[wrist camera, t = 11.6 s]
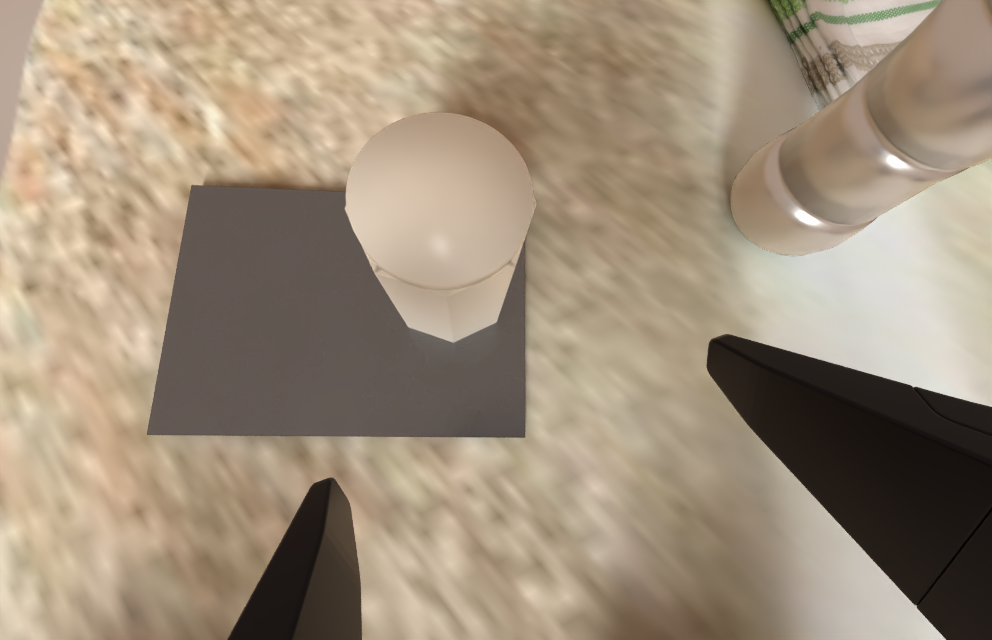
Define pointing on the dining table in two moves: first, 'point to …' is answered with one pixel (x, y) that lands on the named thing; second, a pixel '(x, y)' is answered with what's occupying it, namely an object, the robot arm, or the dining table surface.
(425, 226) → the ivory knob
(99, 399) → the dining table surface
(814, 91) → the dish towel
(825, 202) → the plastic bottle
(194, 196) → the plate
